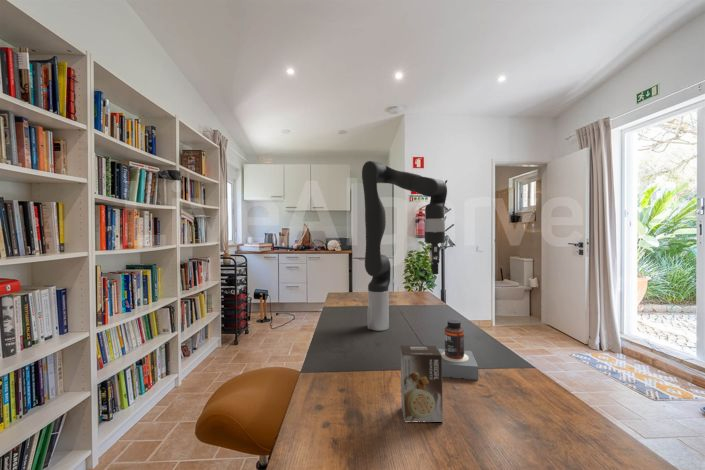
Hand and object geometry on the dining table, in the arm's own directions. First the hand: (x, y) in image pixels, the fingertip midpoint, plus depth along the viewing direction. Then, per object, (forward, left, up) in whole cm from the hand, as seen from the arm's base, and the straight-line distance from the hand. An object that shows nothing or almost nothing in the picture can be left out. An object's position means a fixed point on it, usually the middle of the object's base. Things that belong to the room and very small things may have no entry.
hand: (434, 272), depth 120 cm
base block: (+5, -21, -28) cm, 35 cm away
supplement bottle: (+5, -21, -24) cm, 32 cm away
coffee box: (-6, -48, -28) cm, 56 cm away
